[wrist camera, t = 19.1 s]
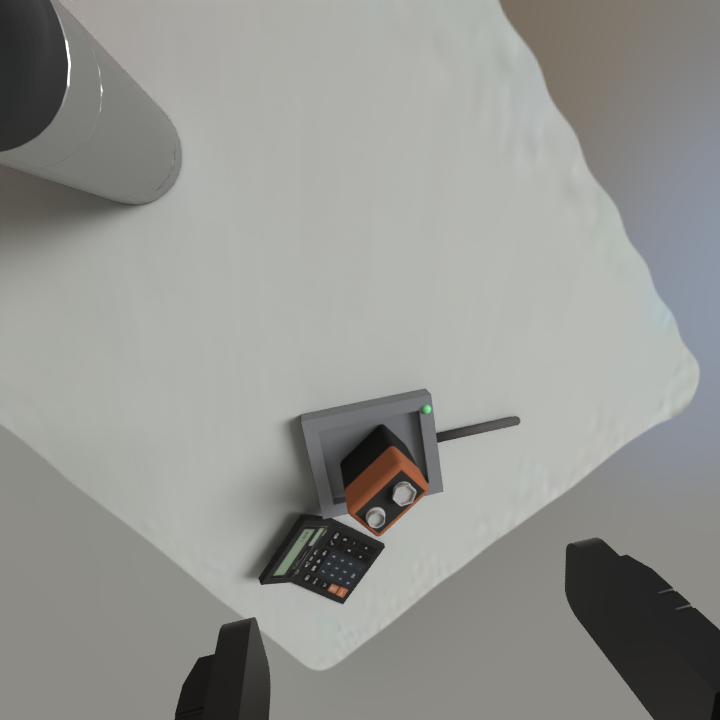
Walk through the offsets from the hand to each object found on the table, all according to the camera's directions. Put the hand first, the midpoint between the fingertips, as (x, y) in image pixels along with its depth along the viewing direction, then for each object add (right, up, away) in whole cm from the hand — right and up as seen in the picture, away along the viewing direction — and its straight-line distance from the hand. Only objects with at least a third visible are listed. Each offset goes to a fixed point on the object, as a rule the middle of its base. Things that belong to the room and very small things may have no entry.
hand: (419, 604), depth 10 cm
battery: (0, -4, +34) cm, 34 cm away
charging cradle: (+5, -3, +35) cm, 36 cm away
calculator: (-6, -17, +38) cm, 42 cm away
